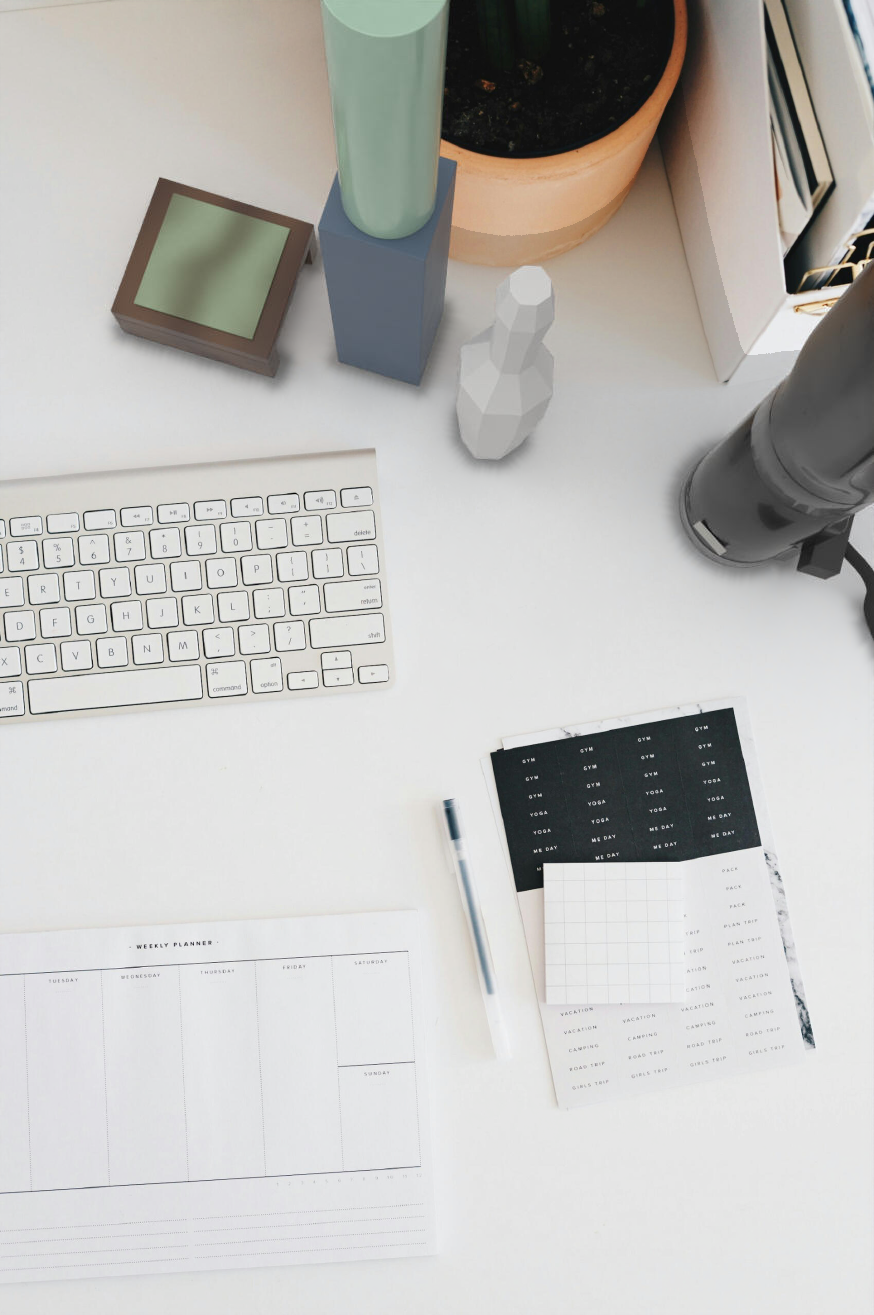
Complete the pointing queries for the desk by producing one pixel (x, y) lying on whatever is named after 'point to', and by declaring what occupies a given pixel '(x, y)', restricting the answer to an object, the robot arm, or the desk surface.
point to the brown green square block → (213, 276)
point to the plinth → (387, 286)
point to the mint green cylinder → (386, 108)
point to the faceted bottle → (508, 368)
